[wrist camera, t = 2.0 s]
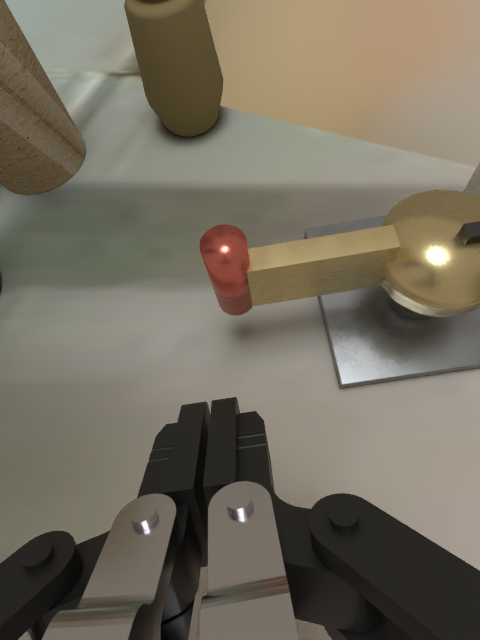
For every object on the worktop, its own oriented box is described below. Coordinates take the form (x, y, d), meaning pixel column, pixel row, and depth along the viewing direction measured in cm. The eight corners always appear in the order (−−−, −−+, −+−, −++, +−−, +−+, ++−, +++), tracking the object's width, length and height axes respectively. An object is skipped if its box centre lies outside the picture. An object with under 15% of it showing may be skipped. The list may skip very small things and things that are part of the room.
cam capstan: (224, 355, 26) (205, 312, 20) (213, 254, 30) (194, 192, 24) (516, 309, 25) (585, 251, 19) (470, 211, 29) (517, 136, 23)
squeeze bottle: (234, 136, 42) (200, -94, 26) (159, 152, 42) (79, -66, 26) (222, 87, 46) (185, -143, 29) (153, 102, 46) (79, -118, 29)
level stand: (340, 388, 30) (357, 351, 22) (304, 237, 36) (308, 168, 28) (545, 357, 29) (633, 308, 22) (474, 208, 35) (524, 130, 28)
